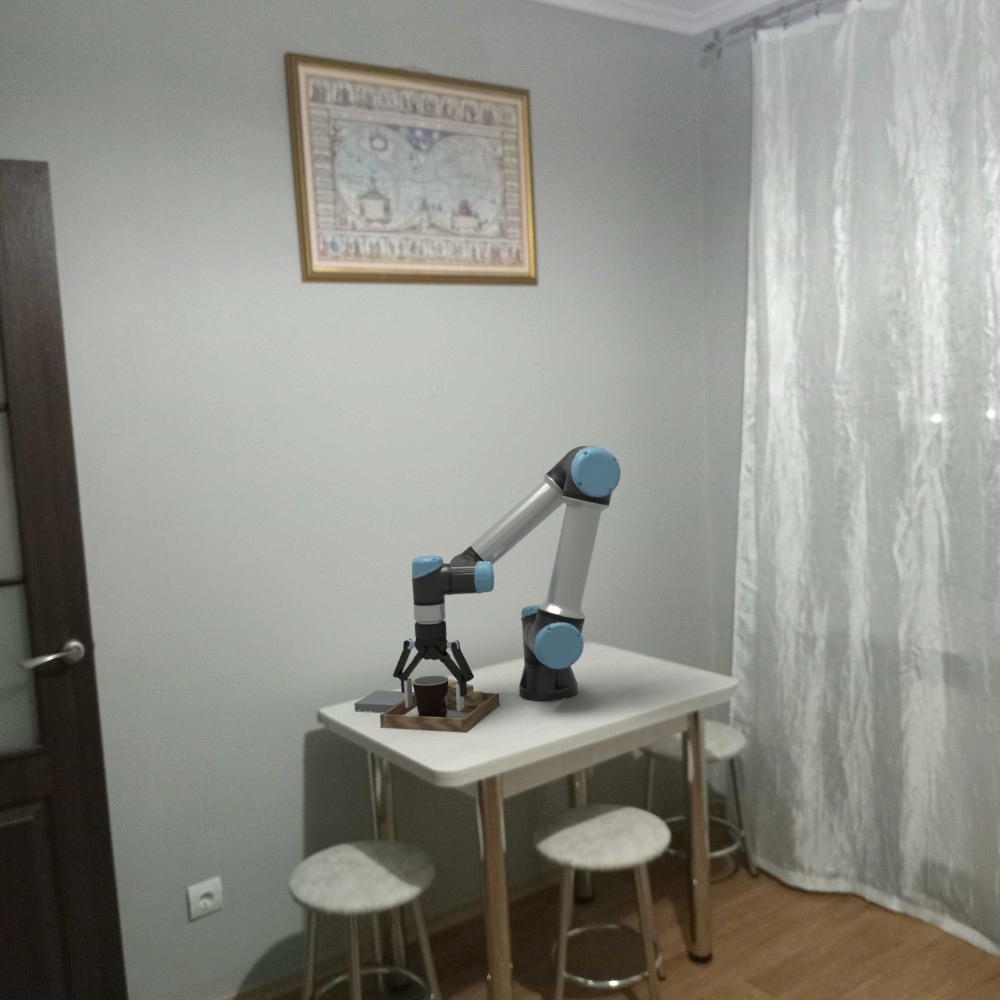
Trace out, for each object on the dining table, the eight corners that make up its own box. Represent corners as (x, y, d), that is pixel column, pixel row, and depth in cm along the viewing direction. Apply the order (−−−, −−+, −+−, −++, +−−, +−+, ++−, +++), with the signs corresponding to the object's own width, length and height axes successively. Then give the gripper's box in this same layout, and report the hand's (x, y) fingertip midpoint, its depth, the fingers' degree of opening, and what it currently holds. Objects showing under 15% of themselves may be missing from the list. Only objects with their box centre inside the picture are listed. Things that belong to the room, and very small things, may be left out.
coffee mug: (437, 728, 230) (434, 686, 229) (407, 724, 235) (405, 683, 234) (465, 714, 240) (462, 674, 239) (436, 710, 244) (433, 671, 244)
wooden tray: (499, 704, 246) (499, 693, 246) (466, 732, 226) (465, 719, 226) (420, 700, 254) (419, 689, 254) (380, 727, 234) (379, 714, 233)
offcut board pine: (483, 701, 245) (482, 691, 244) (473, 706, 241) (472, 696, 240) (436, 696, 252) (435, 687, 251) (426, 701, 248) (425, 692, 247)
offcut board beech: (473, 693, 243) (473, 685, 243) (460, 697, 241) (460, 689, 240) (450, 686, 251) (450, 679, 251) (437, 690, 249) (437, 682, 248)
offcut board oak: (489, 710, 245) (489, 700, 245) (481, 715, 241) (480, 705, 241) (433, 705, 252) (433, 696, 252) (424, 711, 248) (424, 701, 247)
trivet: (418, 699, 256) (417, 692, 255) (397, 713, 244) (397, 705, 244) (377, 697, 260) (376, 690, 260) (355, 711, 249) (354, 703, 248)
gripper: (484, 619, 234) (488, 706, 236) (390, 616, 243) (395, 700, 245) (472, 625, 227) (476, 715, 229) (376, 622, 236) (381, 709, 238)
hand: (434, 707), depth 237 cm, fingers open, 13 cm apart
